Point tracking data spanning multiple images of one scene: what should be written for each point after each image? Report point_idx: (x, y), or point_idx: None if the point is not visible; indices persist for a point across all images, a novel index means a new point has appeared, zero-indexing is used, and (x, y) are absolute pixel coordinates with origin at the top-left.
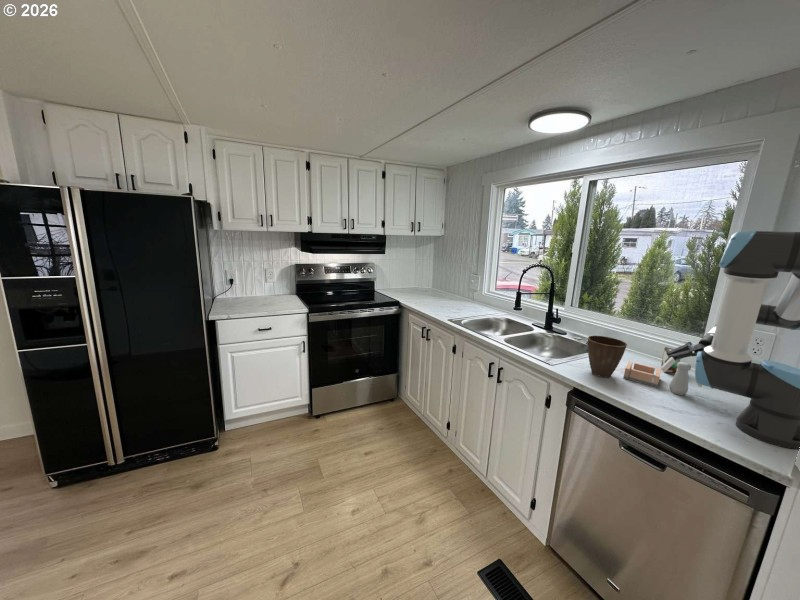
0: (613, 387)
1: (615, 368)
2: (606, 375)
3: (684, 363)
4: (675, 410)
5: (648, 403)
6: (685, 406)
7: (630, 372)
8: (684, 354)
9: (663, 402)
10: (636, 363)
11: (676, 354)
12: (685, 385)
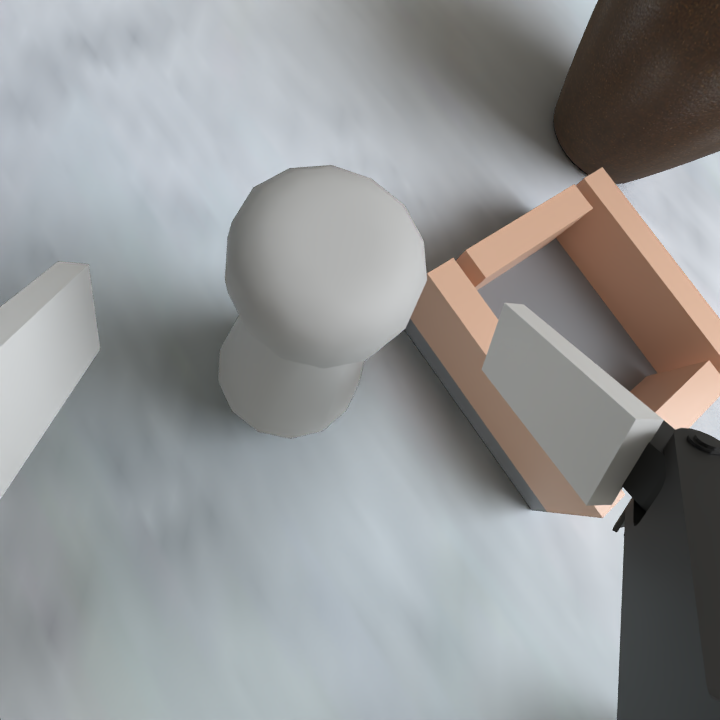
0: (423, 26)
1: (594, 90)
2: (559, 99)
3: (319, 205)
4: (74, 59)
5: (204, 4)
6: (91, 187)
7: (608, 313)
8: (673, 600)
9: (187, 103)
10: (710, 380)
11: (711, 496)
12: (227, 337)
